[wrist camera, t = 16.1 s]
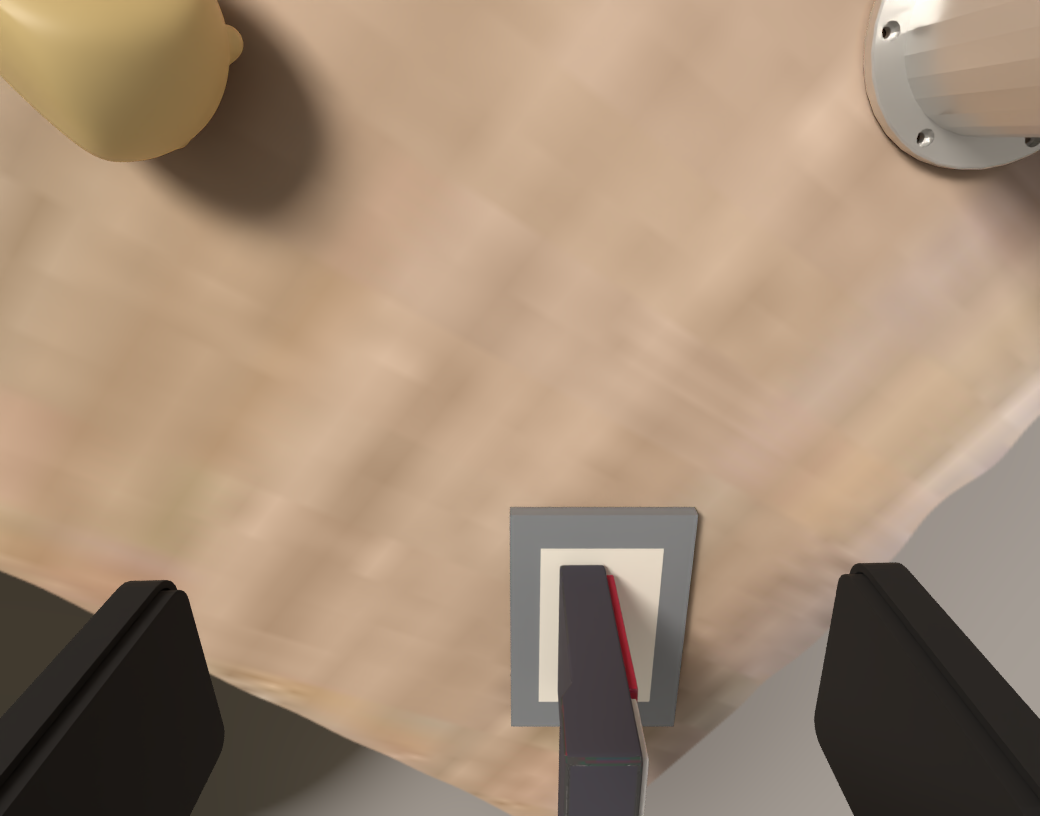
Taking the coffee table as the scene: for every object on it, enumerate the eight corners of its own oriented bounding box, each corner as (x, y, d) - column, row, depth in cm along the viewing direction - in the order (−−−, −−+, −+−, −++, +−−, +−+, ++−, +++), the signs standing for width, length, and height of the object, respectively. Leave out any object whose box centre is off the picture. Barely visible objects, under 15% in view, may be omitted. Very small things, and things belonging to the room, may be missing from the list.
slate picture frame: (694, 507, 43) (698, 516, 42) (670, 715, 50) (673, 727, 49) (510, 507, 43) (509, 516, 42) (511, 715, 50) (511, 727, 49)
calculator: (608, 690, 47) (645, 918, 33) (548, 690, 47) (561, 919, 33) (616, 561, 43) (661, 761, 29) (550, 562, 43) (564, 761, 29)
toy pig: (78, -157, 30) (-138, -302, 20) (301, 37, 33) (208, -7, 23) (-11, 32, 33) (-240, -15, 23) (201, 195, 36) (80, 216, 26)
